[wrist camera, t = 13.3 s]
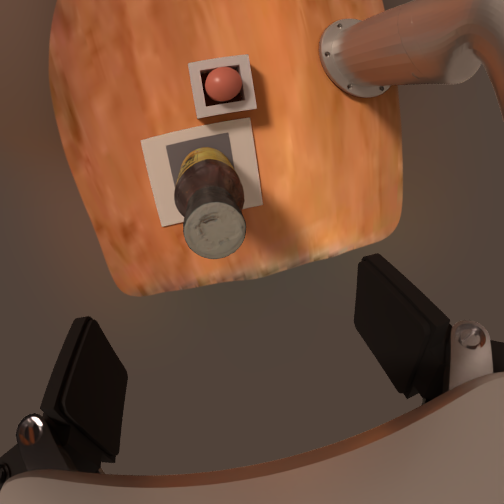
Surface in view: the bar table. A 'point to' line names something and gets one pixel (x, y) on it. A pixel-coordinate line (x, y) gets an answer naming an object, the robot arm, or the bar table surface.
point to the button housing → (246, 103)
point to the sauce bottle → (210, 203)
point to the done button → (223, 84)
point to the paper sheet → (185, 141)
